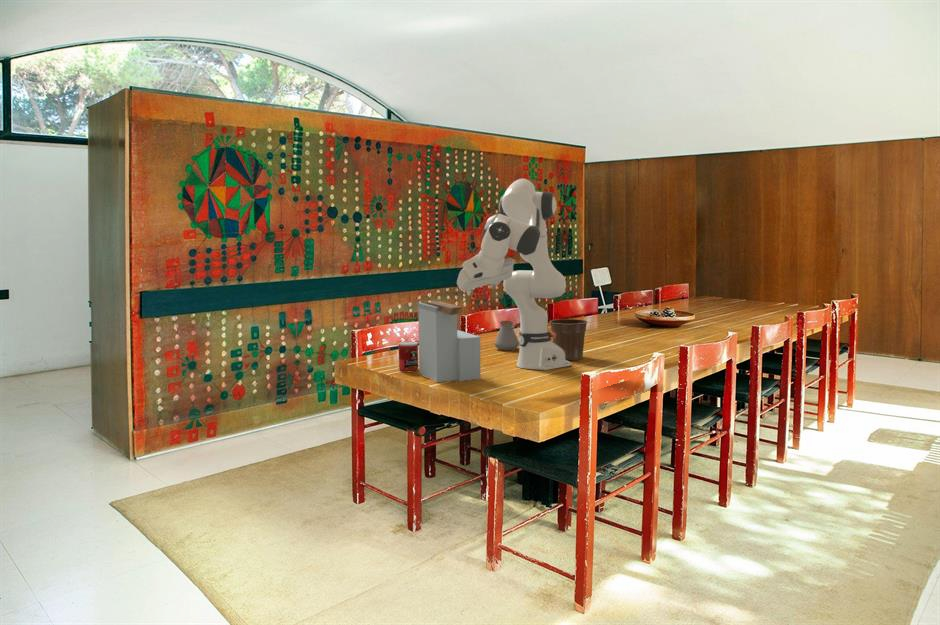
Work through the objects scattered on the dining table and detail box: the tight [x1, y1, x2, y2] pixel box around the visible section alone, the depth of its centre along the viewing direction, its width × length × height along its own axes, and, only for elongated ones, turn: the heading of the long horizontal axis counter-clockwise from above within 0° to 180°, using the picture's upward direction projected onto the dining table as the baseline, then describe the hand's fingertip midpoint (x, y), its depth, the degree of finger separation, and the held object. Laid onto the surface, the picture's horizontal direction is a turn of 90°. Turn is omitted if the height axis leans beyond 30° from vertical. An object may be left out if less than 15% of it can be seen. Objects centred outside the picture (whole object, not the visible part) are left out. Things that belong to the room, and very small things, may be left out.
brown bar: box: [426, 300, 463, 315], centre depth 263 cm, size 4×22×2 cm, turn 26°
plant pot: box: [548, 318, 589, 361], centre depth 307 cm, size 16×16×16 cm
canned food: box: [398, 341, 419, 372], centre depth 284 cm, size 8×8×11 cm
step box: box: [417, 302, 482, 383], centre depth 271 cm, size 17×19×28 cm
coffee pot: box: [493, 320, 520, 351], centre depth 324 cm, size 21×12×15 cm, turn 26°
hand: (481, 290), depth 248 cm, fingers open, 8 cm apart
